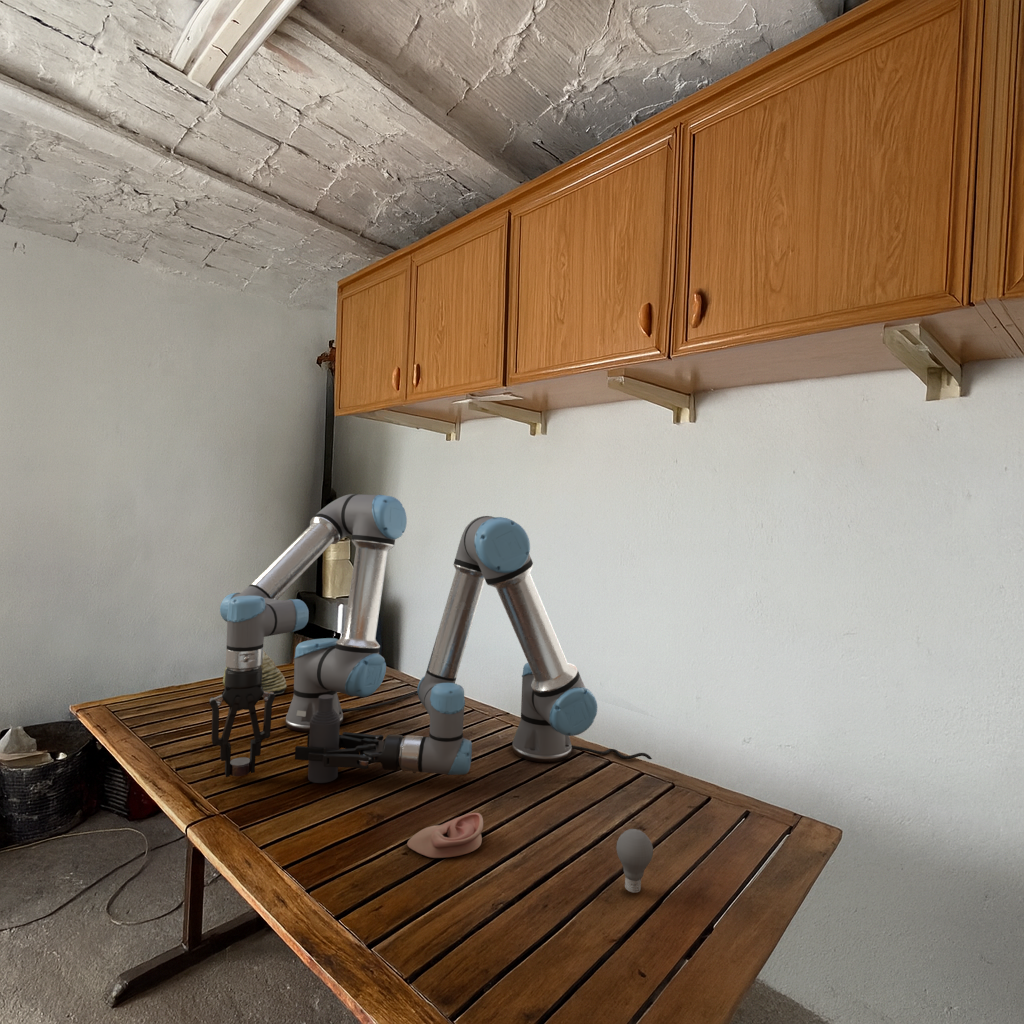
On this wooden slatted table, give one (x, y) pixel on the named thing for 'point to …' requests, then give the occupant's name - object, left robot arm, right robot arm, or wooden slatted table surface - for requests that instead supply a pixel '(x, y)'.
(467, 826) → the anatomical model
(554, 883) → the wooden slatted table surface
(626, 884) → the light bulb
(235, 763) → the cap
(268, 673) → the fossil
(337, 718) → the bottle
